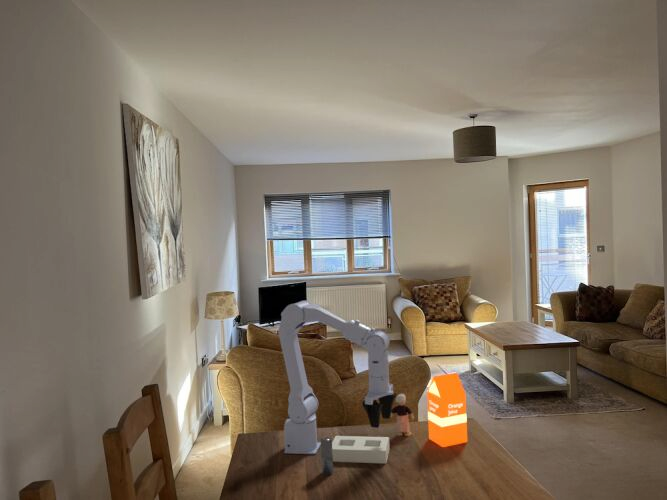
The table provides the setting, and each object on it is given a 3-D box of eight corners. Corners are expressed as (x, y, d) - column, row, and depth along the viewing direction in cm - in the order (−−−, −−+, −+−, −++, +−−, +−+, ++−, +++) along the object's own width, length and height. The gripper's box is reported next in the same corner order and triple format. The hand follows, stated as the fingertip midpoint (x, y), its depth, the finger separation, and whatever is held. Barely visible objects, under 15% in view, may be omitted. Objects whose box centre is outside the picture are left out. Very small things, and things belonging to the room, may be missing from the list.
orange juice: (428, 438, 161) (425, 373, 161) (453, 433, 164) (450, 369, 164) (442, 447, 154) (439, 379, 153) (468, 442, 157) (465, 375, 156)
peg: (321, 474, 139) (319, 441, 139) (323, 469, 142) (321, 437, 142) (332, 475, 139) (330, 441, 139) (334, 470, 142) (332, 437, 142)
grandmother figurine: (414, 431, 167) (412, 392, 167) (415, 436, 163) (413, 395, 163) (390, 432, 168) (388, 392, 168) (390, 436, 164) (388, 396, 164)
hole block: (329, 461, 148) (328, 449, 148) (336, 447, 158) (335, 435, 157) (386, 463, 145) (385, 450, 145) (389, 449, 154) (389, 437, 154)
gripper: (380, 382, 140) (382, 433, 141) (401, 370, 153) (403, 416, 153) (357, 380, 144) (359, 429, 144) (379, 368, 156) (381, 413, 157)
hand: (380, 422), depth 149 cm, fingers open, 7 cm apart
